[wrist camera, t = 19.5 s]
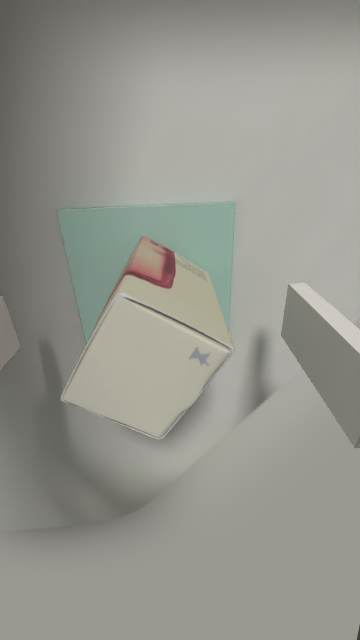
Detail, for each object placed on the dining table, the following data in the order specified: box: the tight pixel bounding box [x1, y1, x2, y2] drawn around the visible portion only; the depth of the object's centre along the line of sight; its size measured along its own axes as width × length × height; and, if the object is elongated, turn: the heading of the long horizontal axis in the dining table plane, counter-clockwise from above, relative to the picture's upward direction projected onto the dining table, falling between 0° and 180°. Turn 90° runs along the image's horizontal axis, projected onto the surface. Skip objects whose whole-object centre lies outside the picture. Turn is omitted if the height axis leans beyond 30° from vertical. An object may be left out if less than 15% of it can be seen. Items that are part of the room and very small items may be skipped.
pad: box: [57, 202, 235, 343], centre depth 17 cm, size 9×9×1 cm
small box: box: [60, 236, 235, 440], centre depth 13 cm, size 5×4×8 cm
